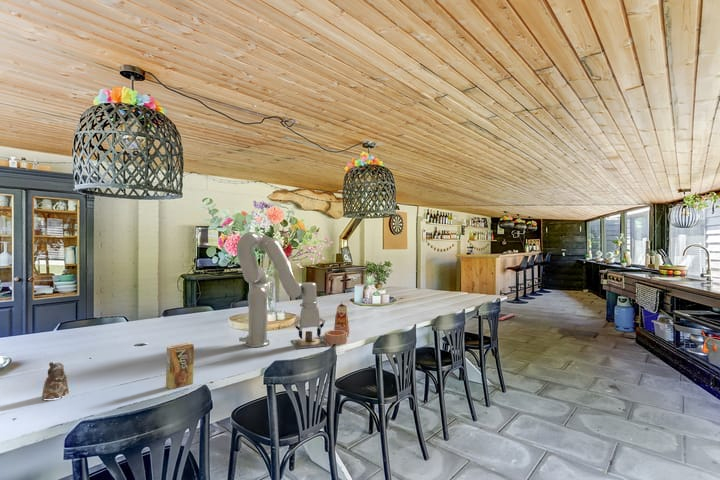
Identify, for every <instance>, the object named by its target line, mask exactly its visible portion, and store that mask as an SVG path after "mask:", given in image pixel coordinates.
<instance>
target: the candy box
mask: <svg viewBox="0 0 720 480" xmlns="http://www.w3.org/2000/svg"><path fill="white" fill-rule="evenodd" d="M194 345H195V344H193V343H191V342H186V343H181V344H176V345H171V346H166V360H165V361H166V363H165V364H166V365H165V366H166V367H165V368H166V369H165V370H166V373H165V376H166V377H165V378H166V379H165V388H167V389H169V390H173V388H174V389H176V388H181V387H184V386H188V385H191V384H194V358H195V357H194V354H195V353H194V352H195V346H194Z"/></svg>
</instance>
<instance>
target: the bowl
mask: <svg viewBox="0 0 720 480" xmlns="http://www.w3.org/2000/svg"><path fill="white" fill-rule="evenodd" d="M323 342H324V343H325V344H326V345H330V346H334V345H333V344H336V345H335V346H340V345H345V344H347V342H348V337H347V332H346V331H342V330H334V329H332V330H331V329H330V330H326V331H325V332H324V340H323Z"/></svg>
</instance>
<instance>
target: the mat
mask: <svg viewBox="0 0 720 480" xmlns="http://www.w3.org/2000/svg"><path fill="white" fill-rule="evenodd" d="M315 338H316V339H319V340H321V343H320V344H319V345H315V346H301V345H298V344H297V340H299V339H300V338H299V339H291V340H290V341H291V343H292V345H293V346H294V348H296V350H303V349H315V348H325V347H328V344H326V343H325V342H324V340H322V339H321V338H320V337H315Z"/></svg>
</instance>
